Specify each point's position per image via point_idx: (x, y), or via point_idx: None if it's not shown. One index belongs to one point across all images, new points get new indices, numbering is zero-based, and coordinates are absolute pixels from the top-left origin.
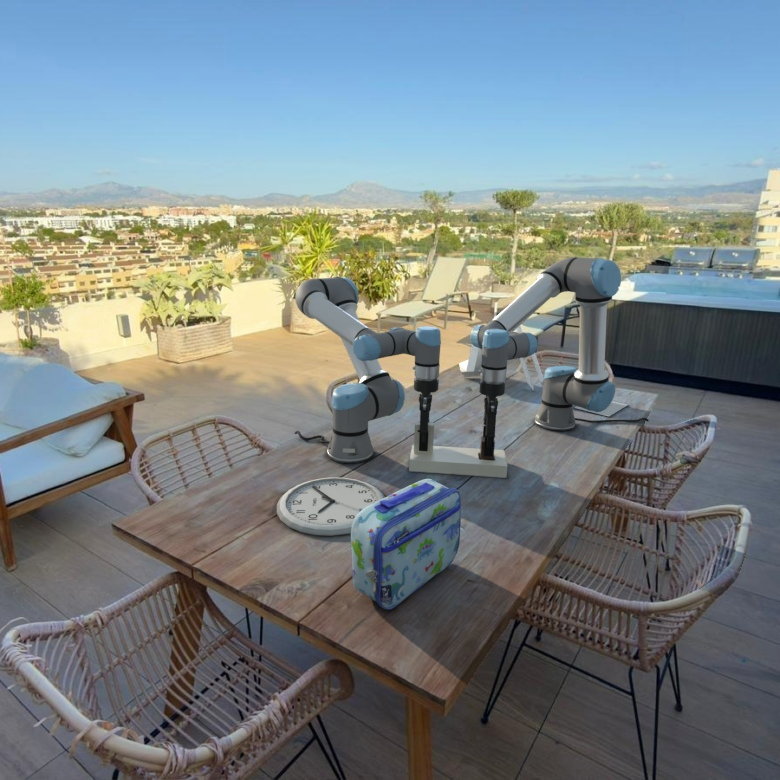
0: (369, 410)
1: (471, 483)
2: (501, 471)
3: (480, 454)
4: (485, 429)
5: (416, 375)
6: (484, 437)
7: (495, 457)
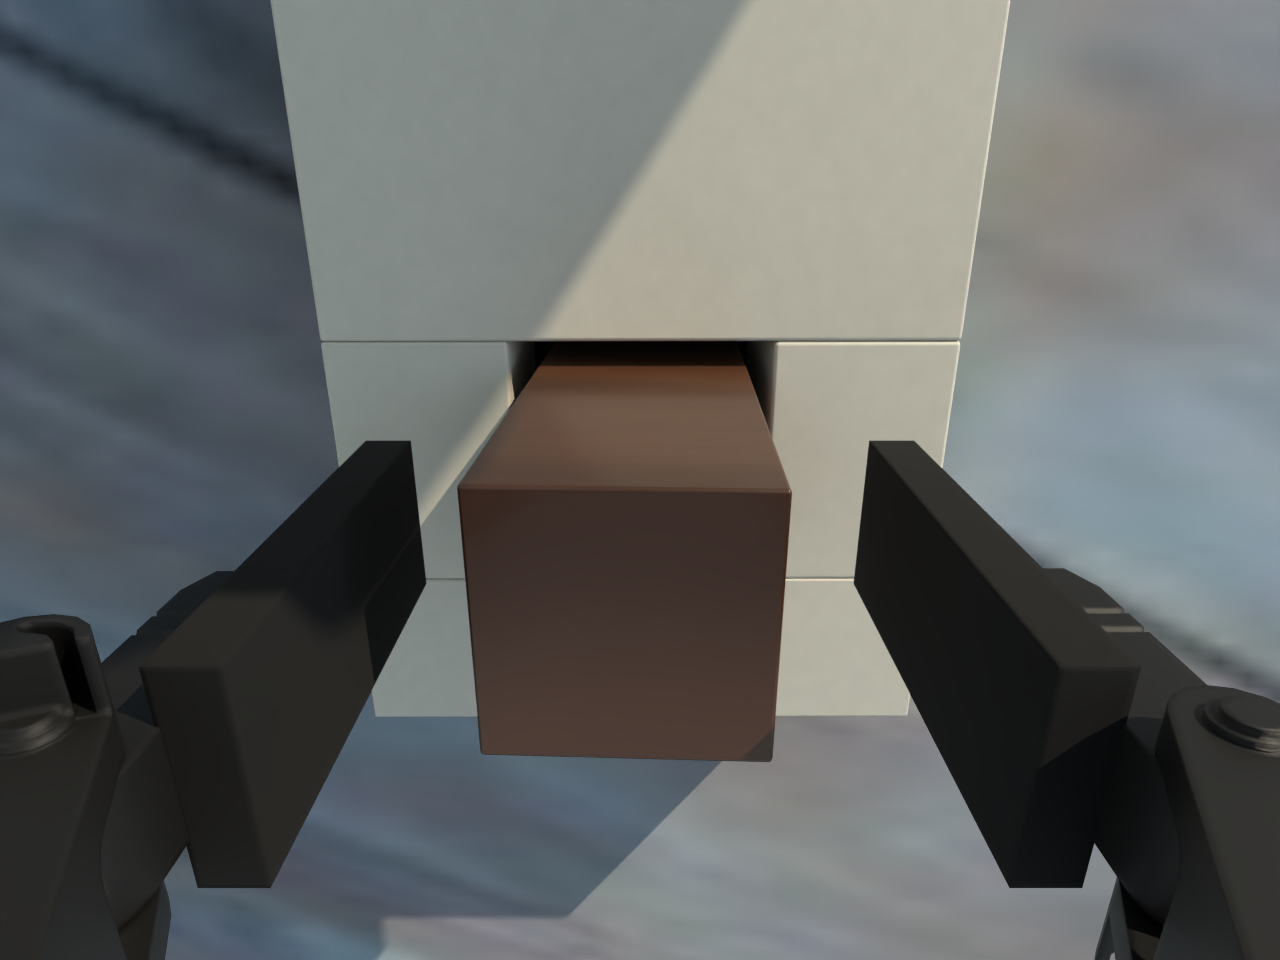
0: None
1: (138, 203)
2: None
3: (595, 381)
4: (1001, 663)
5: None
6: (716, 563)
7: None
